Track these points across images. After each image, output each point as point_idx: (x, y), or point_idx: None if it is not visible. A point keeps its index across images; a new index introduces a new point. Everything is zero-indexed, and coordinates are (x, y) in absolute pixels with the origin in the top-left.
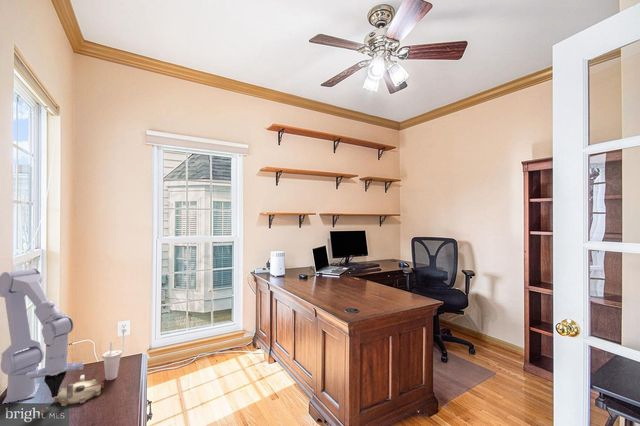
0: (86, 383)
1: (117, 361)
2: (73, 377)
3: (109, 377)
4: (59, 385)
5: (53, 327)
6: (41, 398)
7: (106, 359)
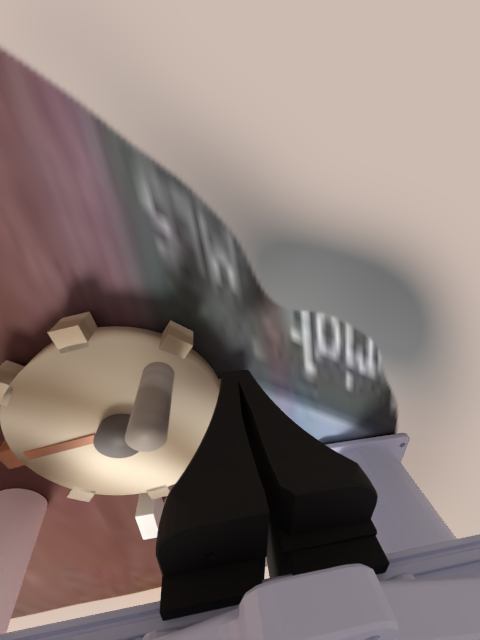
0: (108, 475)
1: None
2: None
3: (9, 503)
4: (213, 428)
5: None
6: None
7: None
